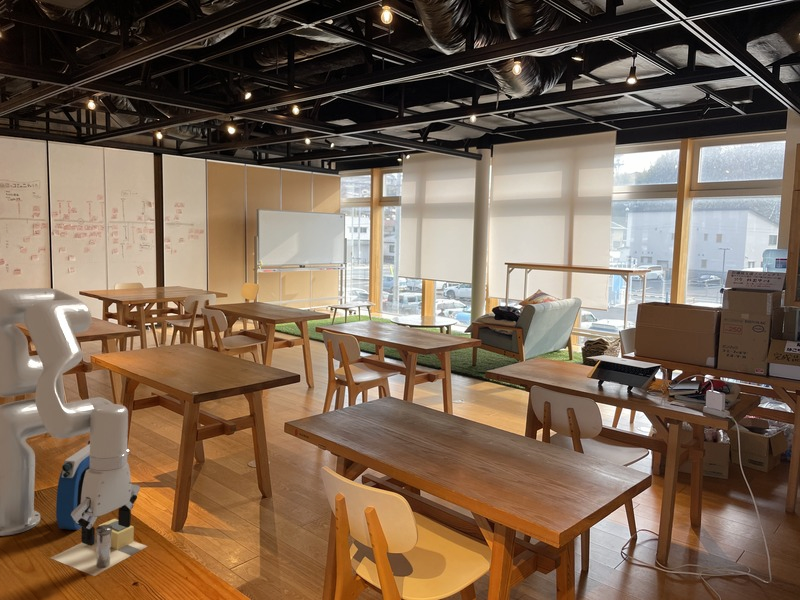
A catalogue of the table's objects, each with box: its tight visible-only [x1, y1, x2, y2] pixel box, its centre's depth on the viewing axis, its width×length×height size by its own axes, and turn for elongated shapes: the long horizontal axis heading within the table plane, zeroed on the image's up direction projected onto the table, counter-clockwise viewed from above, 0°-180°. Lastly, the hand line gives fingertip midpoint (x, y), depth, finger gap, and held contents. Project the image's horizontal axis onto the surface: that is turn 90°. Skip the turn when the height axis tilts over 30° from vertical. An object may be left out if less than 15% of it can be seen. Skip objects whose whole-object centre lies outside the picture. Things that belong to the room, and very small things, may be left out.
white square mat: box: [50, 534, 149, 577], centre depth 139 cm, size 14×15×1 cm
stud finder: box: [97, 518, 135, 550], centre depth 144 cm, size 7×4×4 cm, turn 63°
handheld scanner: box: [55, 440, 93, 531], centre depth 152 cm, size 5×16×20 cm, turn 2°
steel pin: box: [95, 525, 112, 568], centre depth 133 cm, size 3×3×9 cm
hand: (106, 534), depth 133 cm, fingers open, 9 cm apart
